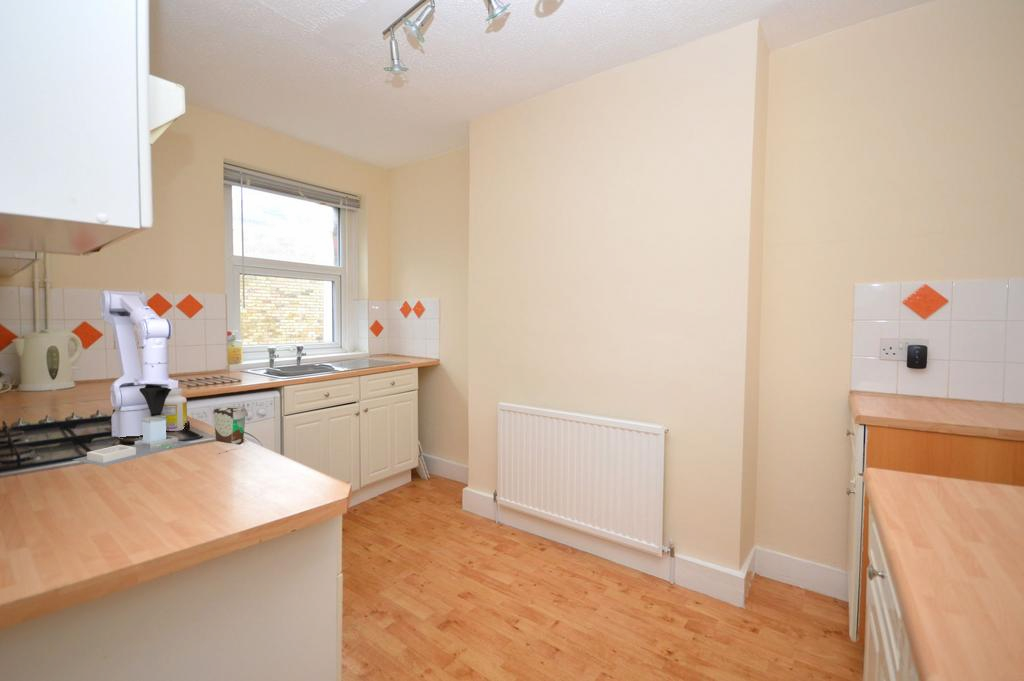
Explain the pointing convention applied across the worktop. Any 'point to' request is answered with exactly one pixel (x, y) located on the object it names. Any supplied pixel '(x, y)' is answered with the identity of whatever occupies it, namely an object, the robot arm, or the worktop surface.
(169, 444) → the port
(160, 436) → the plug
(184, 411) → the supplement bottle
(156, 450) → the panel
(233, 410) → the food container
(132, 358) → the robot arm
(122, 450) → the frame
